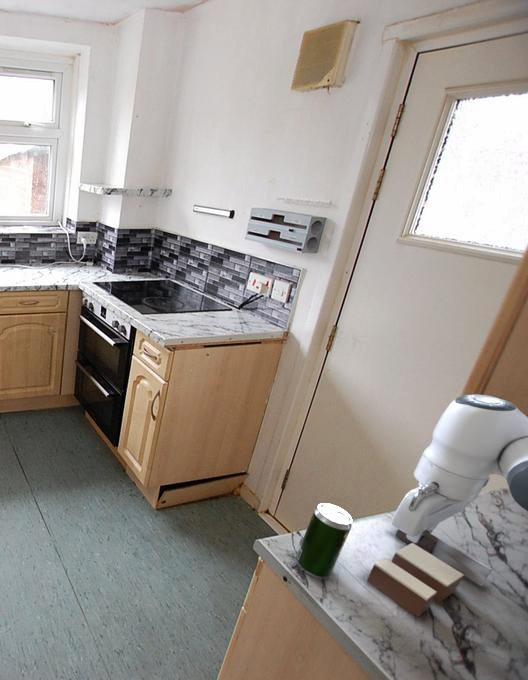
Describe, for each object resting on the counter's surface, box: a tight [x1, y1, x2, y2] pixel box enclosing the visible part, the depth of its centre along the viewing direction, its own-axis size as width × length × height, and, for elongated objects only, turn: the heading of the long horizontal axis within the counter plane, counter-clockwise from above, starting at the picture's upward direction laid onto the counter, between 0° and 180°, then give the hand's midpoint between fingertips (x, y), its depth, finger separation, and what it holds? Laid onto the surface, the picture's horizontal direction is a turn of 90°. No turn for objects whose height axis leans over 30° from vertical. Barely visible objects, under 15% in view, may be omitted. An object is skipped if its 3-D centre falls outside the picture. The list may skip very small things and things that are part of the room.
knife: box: [394, 529, 493, 587], centre depth 84 cm, size 13×2×4 cm, turn 26°
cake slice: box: [366, 557, 436, 618], centre depth 76 cm, size 8×3×4 cm, turn 28°
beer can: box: [296, 502, 353, 580], centre depth 79 cm, size 5×5×12 cm
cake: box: [390, 543, 464, 604], centre depth 79 cm, size 8×6×4 cm
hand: (417, 537), depth 88 cm, fingers closed on knife, 2 cm apart
